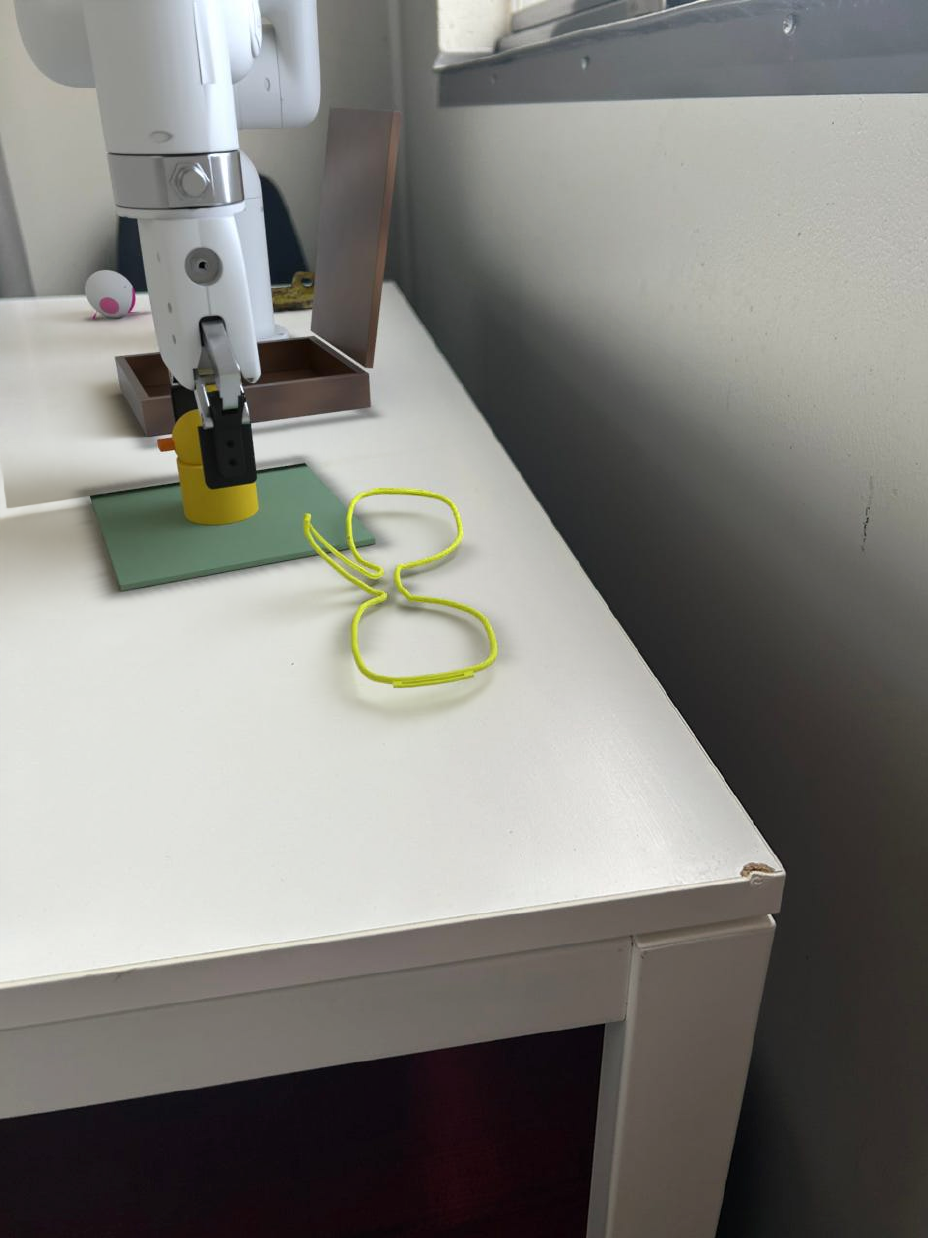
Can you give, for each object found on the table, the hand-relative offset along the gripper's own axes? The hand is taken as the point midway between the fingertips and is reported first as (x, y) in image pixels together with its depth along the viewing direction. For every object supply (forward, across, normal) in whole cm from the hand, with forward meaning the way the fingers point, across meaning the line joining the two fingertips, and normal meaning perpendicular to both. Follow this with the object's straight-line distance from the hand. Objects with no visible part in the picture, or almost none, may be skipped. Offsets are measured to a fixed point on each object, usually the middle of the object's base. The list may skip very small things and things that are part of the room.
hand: (215, 461), depth 67 cm
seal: (+4, +71, -22) cm, 75 cm away
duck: (+4, 0, 0) cm, 4 cm away
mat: (+4, 0, 0) cm, 4 cm away
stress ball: (+4, +73, -2) cm, 73 cm away
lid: (-10, +26, -19) cm, 34 cm away
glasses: (+4, -16, -7) cm, 18 cm away
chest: (+4, +26, -8) cm, 27 cm away
